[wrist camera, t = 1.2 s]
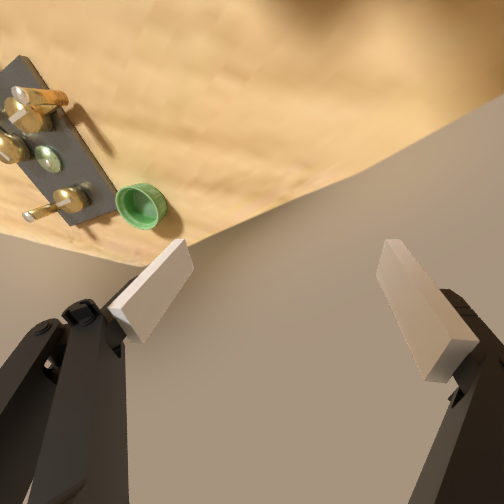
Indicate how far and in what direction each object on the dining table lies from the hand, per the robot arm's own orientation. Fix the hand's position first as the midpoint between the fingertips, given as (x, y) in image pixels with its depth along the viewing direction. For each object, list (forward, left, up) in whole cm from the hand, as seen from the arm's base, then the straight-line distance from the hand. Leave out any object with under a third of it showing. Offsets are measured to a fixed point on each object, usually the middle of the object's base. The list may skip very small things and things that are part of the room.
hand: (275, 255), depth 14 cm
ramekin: (-3, -30, -26) cm, 40 cm away
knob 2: (-23, -37, -25) cm, 50 cm away
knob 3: (-9, -47, -24) cm, 54 cm away
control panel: (-17, -45, -26) cm, 54 cm away
